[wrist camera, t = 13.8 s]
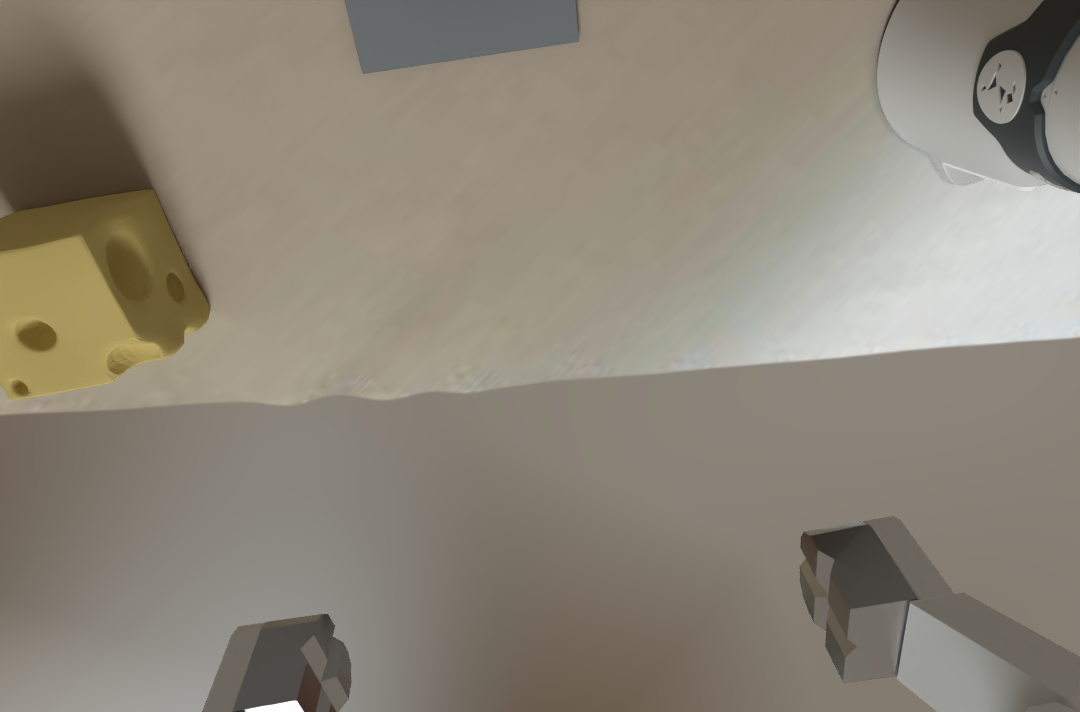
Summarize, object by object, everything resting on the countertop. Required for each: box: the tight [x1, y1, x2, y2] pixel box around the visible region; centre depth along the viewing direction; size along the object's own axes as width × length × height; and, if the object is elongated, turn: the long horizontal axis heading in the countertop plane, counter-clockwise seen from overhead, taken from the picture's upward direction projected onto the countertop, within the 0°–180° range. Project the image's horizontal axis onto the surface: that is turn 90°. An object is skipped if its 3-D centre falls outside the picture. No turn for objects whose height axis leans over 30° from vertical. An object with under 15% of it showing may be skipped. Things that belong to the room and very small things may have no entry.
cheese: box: [0, 189, 210, 400], centre depth 45 cm, size 10×11×10 cm
